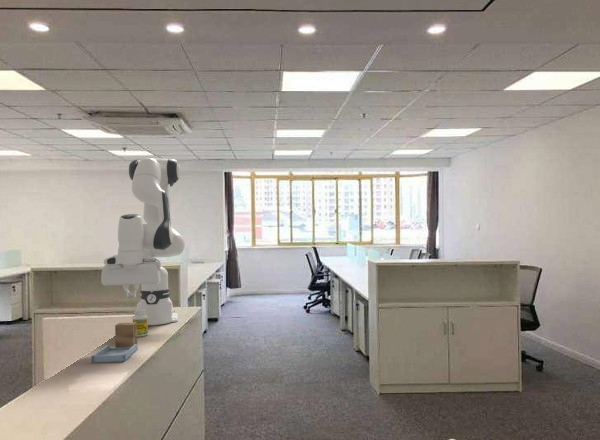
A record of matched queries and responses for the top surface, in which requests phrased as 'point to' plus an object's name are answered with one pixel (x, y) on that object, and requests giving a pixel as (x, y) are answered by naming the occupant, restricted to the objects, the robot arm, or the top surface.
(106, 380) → the top surface
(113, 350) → the tray
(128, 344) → the wooden block
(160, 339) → the top surface
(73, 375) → the top surface
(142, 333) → the supplement bottle
